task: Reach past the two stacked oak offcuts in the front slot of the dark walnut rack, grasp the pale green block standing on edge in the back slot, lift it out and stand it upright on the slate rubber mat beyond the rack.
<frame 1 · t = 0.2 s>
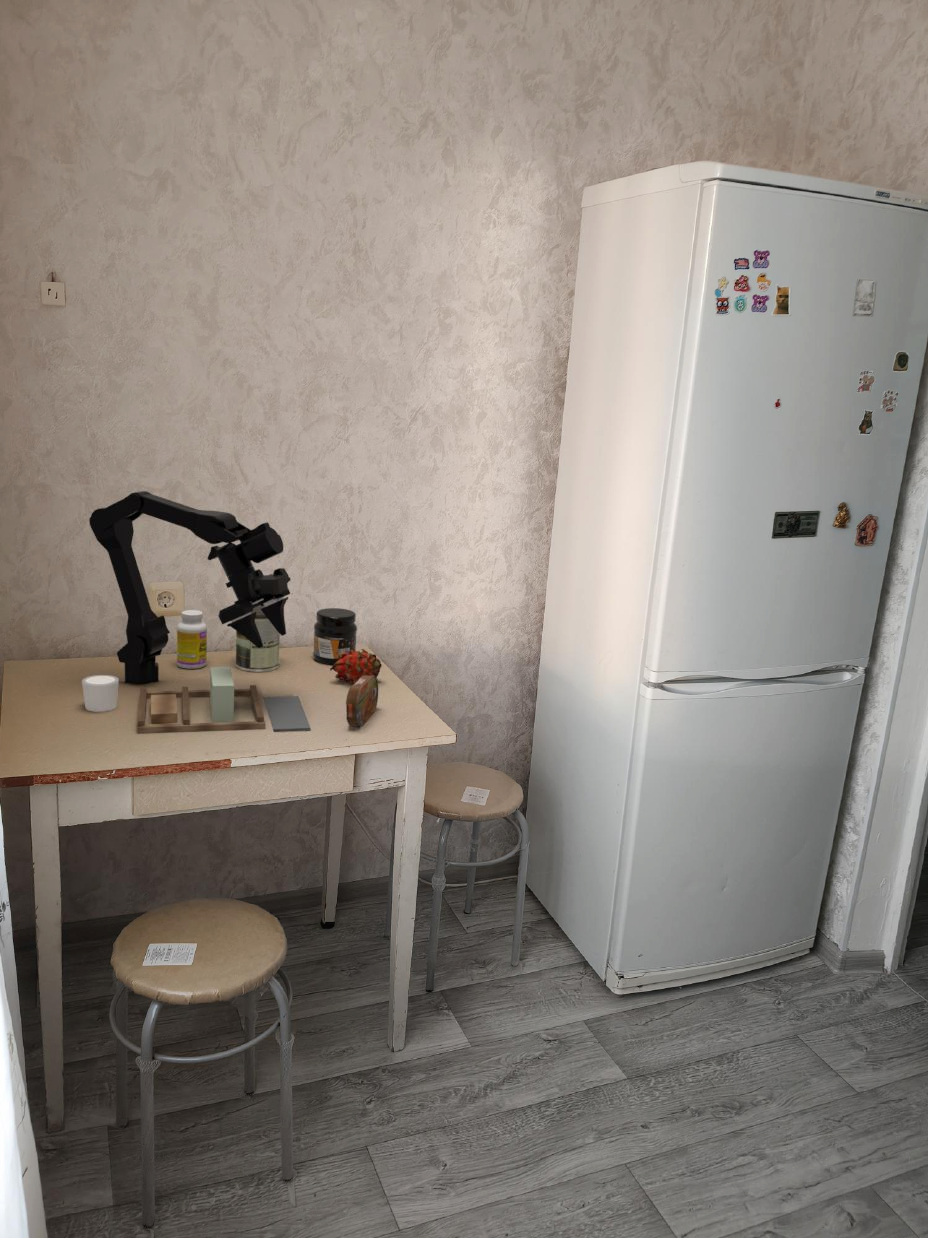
hand: (272, 641, 195), 15 cm above the table, tool tilted 30°, fingers open, 9 cm apart
dragon fruit: (355, 683, 219), on the table
supplement container: (334, 660, 235), on the table
white cup: (101, 714, 189), on the table
tin: (361, 719, 196), on the table
supplement bottle: (191, 666, 222), on the table
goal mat: (283, 714, 195), on the table
rack: (200, 718, 190), on the table
coffee can: (257, 666, 225), on the table
pale green block: (221, 718, 191), on the table
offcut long: (163, 722, 188), on the table, touching offcut short
offcut short: (163, 713, 187), point 1 cm above the table, touching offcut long
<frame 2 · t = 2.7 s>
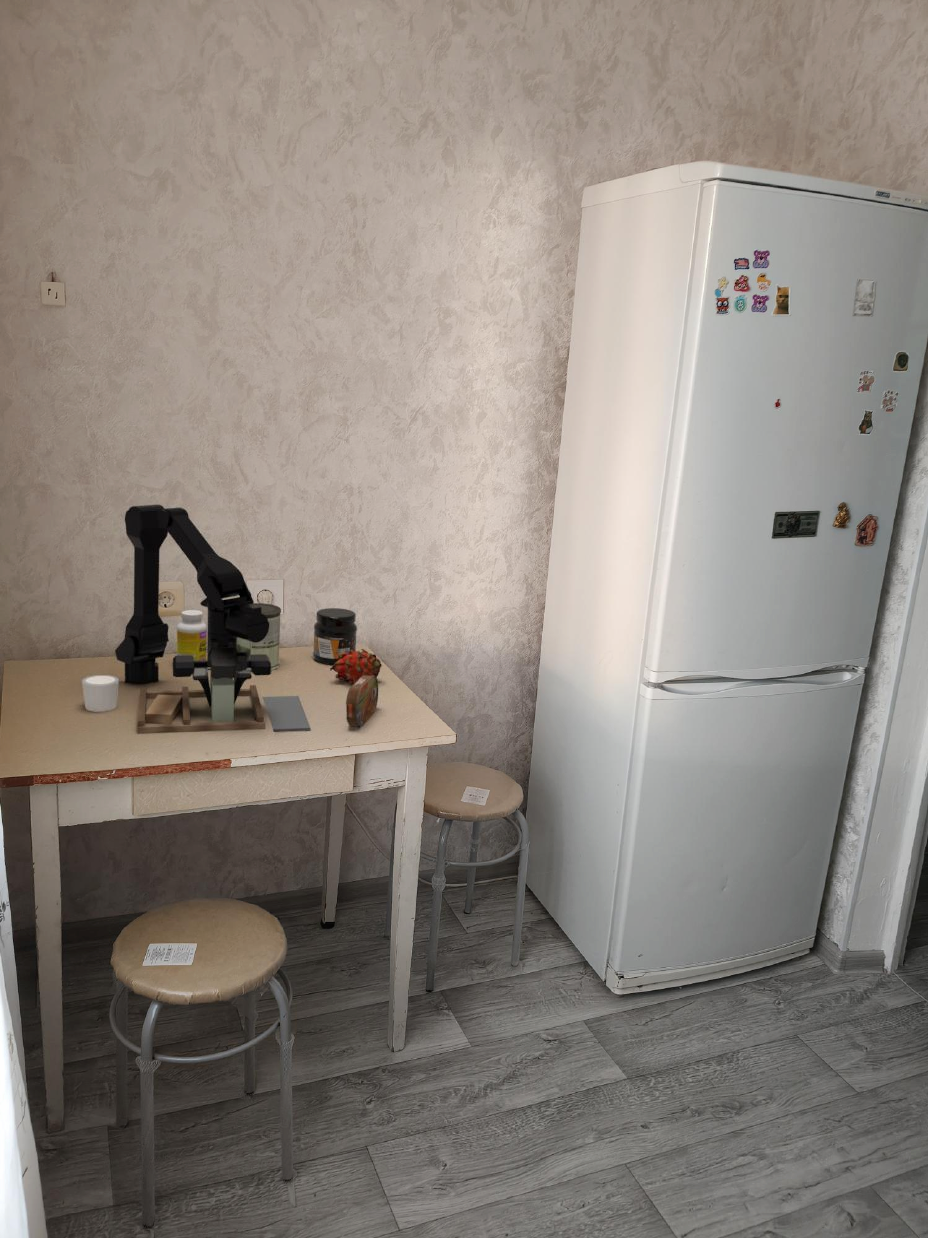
hand: (221, 706, 190), 3 cm above the table, tool pointing down, fingers closed on pale green block, 4 cm apart
pale green block: (221, 718, 191), on the table, touching gripper
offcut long: (163, 723, 188), on the table
offcut short: (164, 713, 187), point 1 cm above the table
everything else where it was.
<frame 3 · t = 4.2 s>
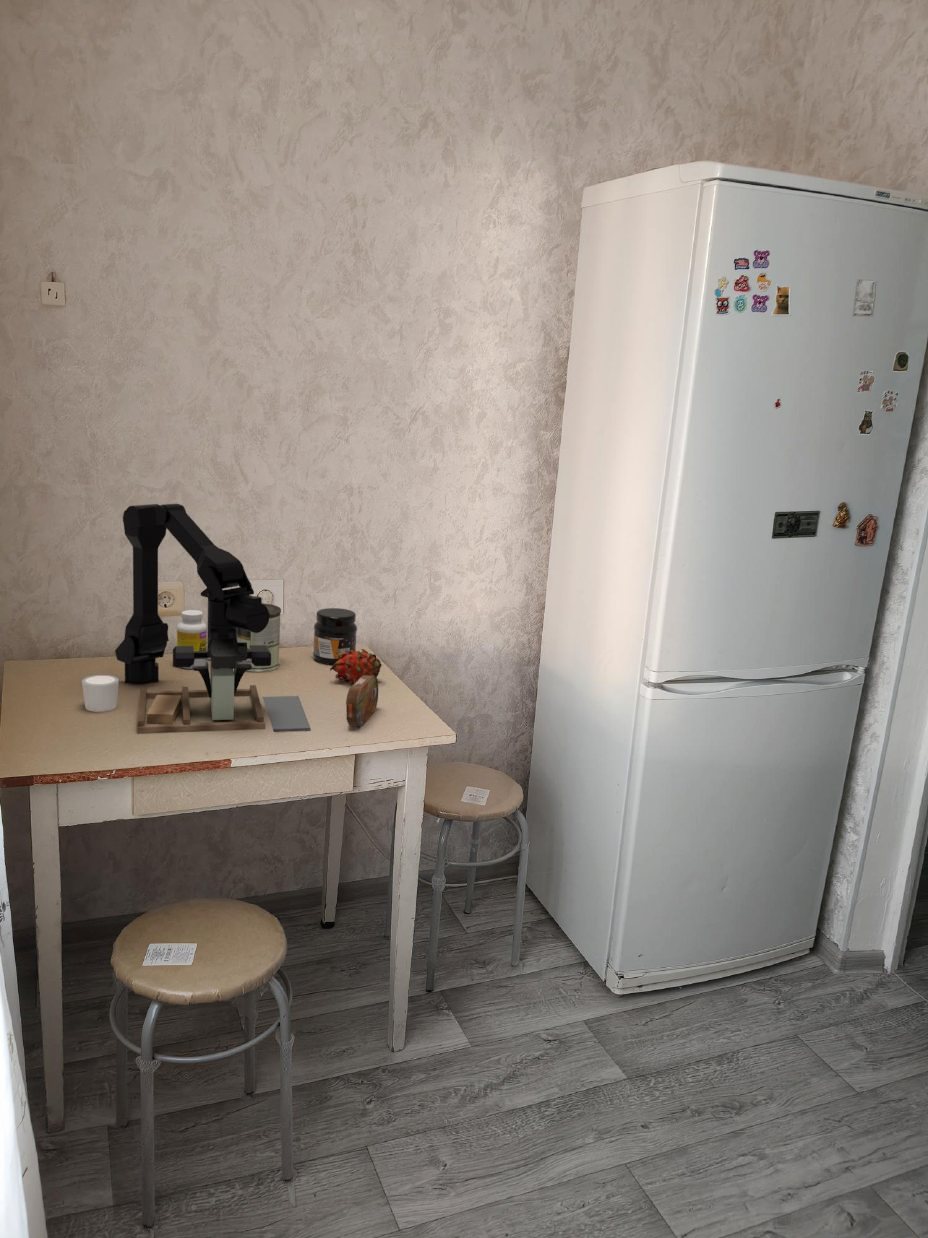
hand: (221, 697, 190), 4 cm above the table, tool pointing down, fingers closed on pale green block, 4 cm apart
pale green block: (221, 709, 190), point 2 cm above the table, touching gripper
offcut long: (163, 723, 188), on the table, touching offcut short
offcut short: (164, 714, 187), point 1 cm above the table, touching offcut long
everything else where it was.
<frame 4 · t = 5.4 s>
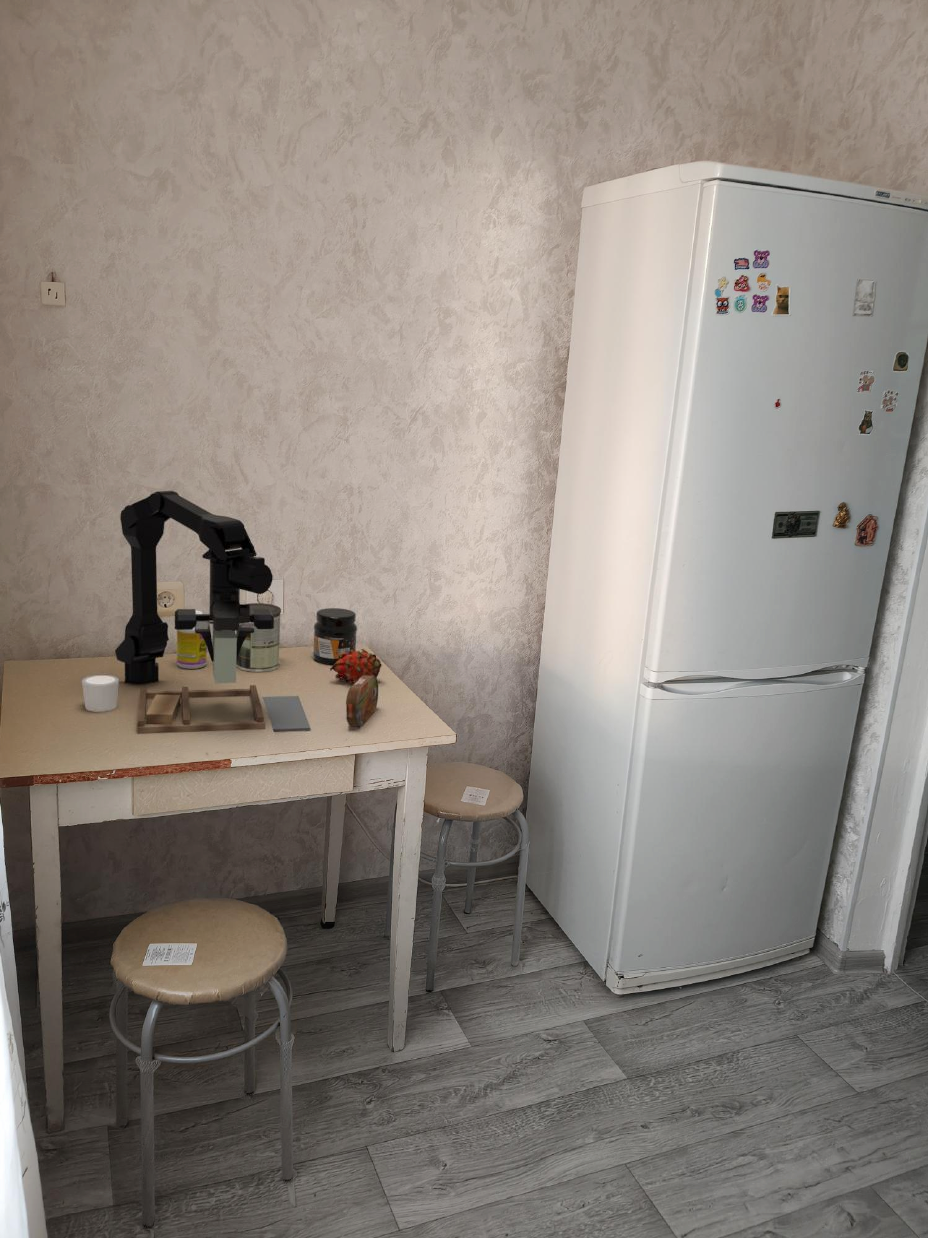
hand: (223, 661, 188), 12 cm above the table, tool pointing down, fingers closed on pale green block, 4 cm apart
pale green block: (223, 673, 189), point 9 cm above the table, touching gripper
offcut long: (163, 723, 188), on the table
offcut short: (163, 713, 187), point 1 cm above the table
everything else where it was.
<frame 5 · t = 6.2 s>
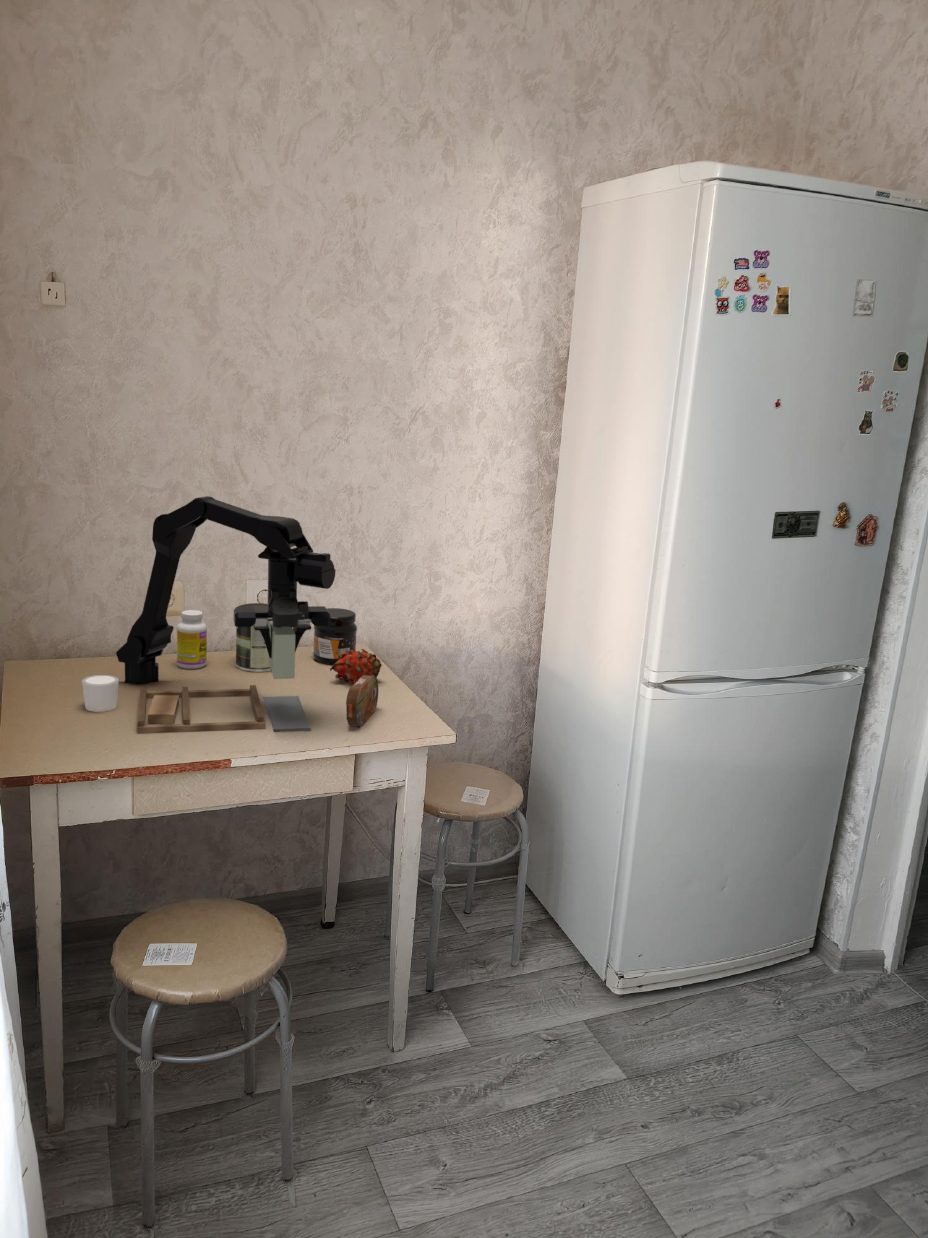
hand: (281, 657, 192), 12 cm above the table, tool pointing down, fingers closed on pale green block, 4 cm apart
pale green block: (281, 669, 192), point 10 cm above the table, touching gripper
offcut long: (163, 723, 188), on the table, touching offcut short
offcut short: (163, 714, 187), point 1 cm above the table, touching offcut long
everything else where it was.
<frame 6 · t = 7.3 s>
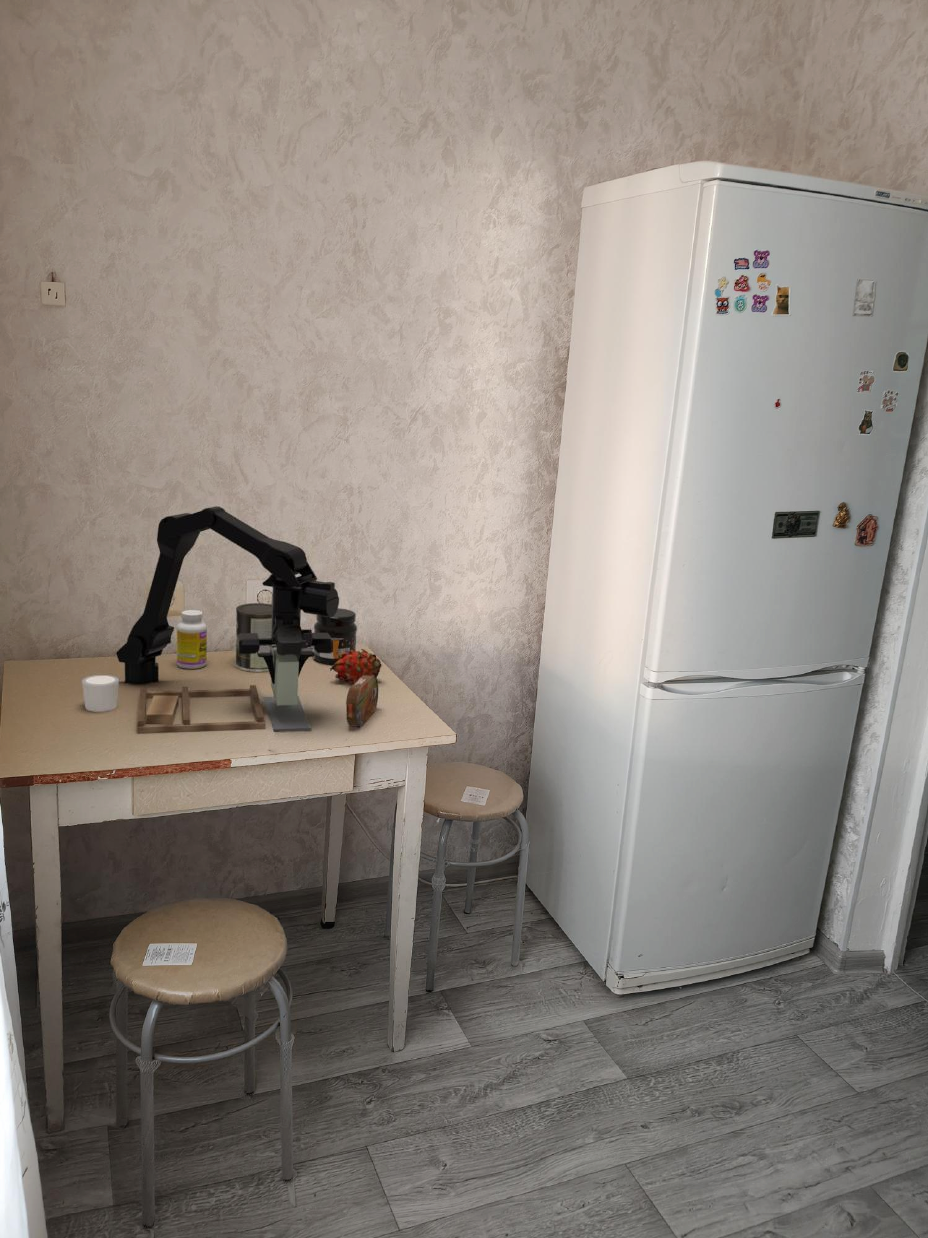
hand: (284, 683, 194), 7 cm above the table, tool pointing down, fingers closed on pale green block, 4 cm apart
pale green block: (283, 695, 194), point 4 cm above the table, touching gripper
everything else where it was.
when the fingers open (4 cm above the table, at t = 8.4 s): pale green block drops 1 cm, resting on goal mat.
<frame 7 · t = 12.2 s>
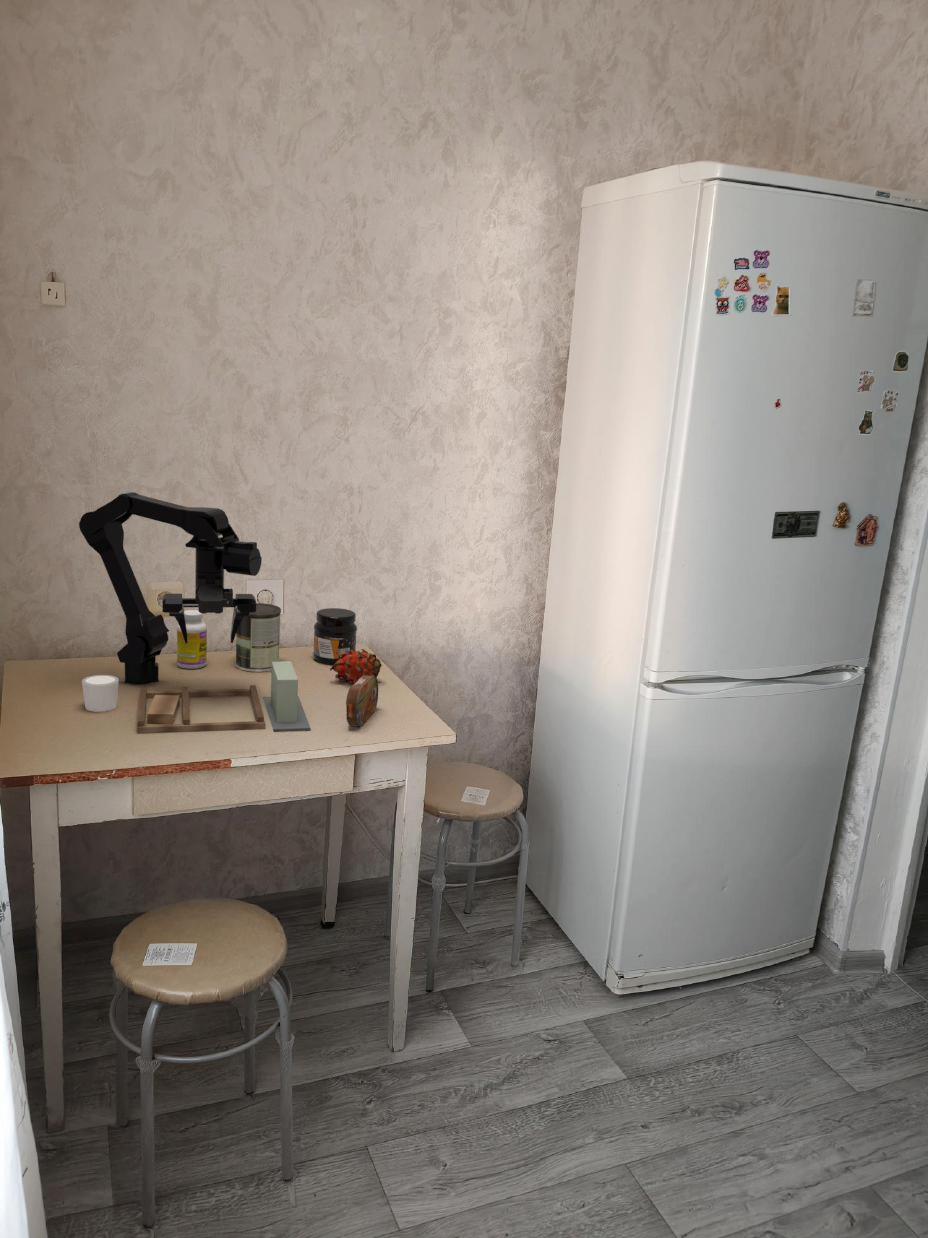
hand: (209, 642, 199), 12 cm above the table, tool pointing down, fingers open, 9 cm apart
pale green block: (283, 711, 195), resting on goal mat
everything else where it was.
at the end: pale green block inside the target area on the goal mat (0.1 cm from its centre), point 0.5 cm above the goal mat's base; pale green block tilted 0°; the gripper is holding nothing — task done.
